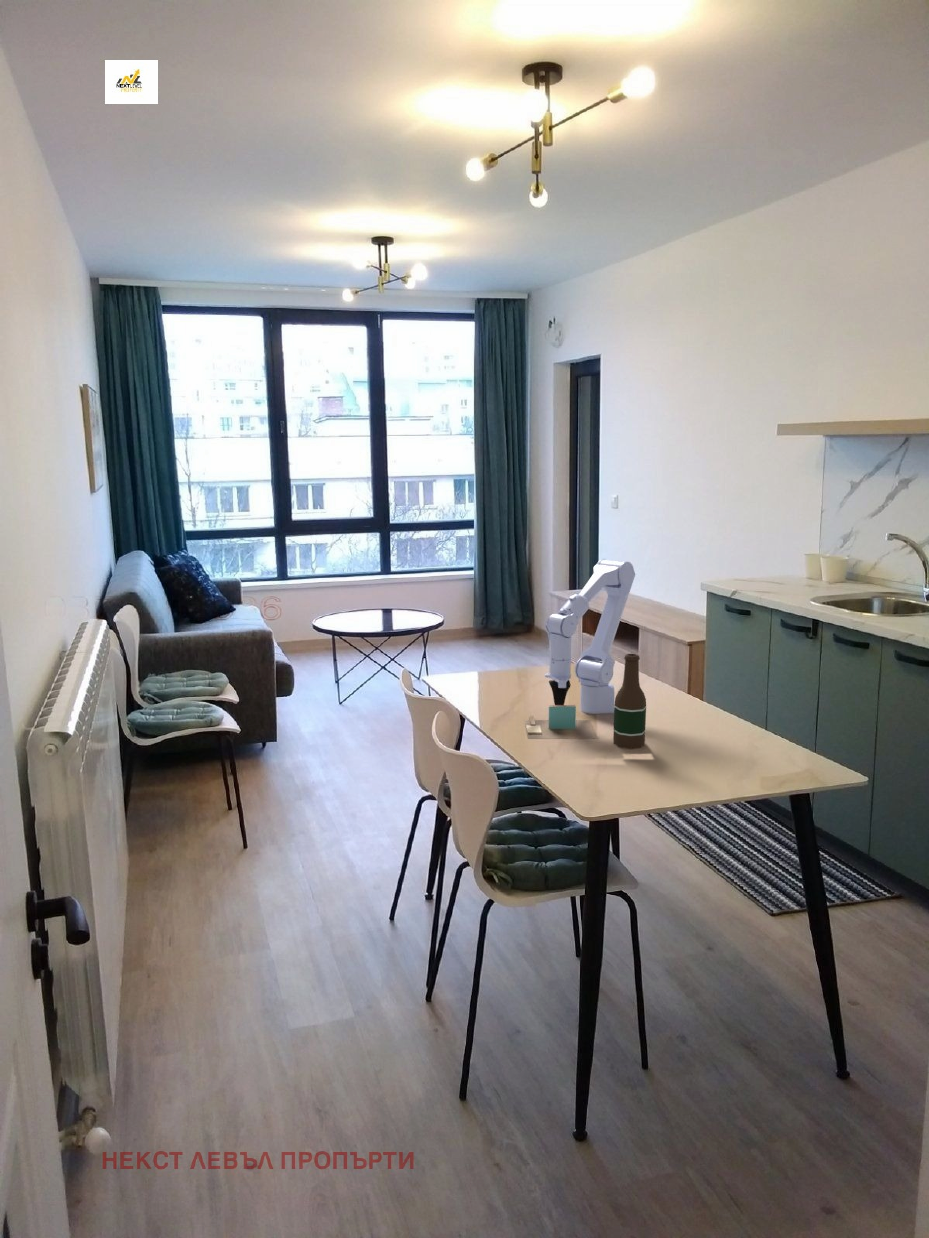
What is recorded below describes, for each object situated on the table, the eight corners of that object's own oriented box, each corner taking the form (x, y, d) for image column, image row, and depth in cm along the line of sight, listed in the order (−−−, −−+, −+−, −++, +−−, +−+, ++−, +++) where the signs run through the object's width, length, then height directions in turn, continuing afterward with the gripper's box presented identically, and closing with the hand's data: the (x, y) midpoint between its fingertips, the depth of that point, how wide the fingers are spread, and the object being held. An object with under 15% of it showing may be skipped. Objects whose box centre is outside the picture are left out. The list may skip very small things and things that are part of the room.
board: (590, 724, 243) (590, 720, 243) (598, 743, 227) (598, 738, 227) (524, 724, 243) (524, 720, 243) (527, 742, 227) (527, 738, 227)
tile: (574, 726, 237) (575, 705, 236) (575, 728, 235) (575, 706, 234) (548, 726, 237) (548, 705, 236) (548, 728, 235) (549, 706, 234)
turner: (537, 718, 244) (537, 715, 244) (541, 734, 231) (541, 731, 230) (524, 718, 244) (524, 715, 244) (527, 734, 231) (527, 731, 230)
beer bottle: (606, 747, 224) (609, 654, 219) (626, 741, 229) (629, 649, 224) (630, 755, 218) (634, 659, 213) (651, 749, 223) (654, 655, 218)
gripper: (543, 652, 247) (542, 699, 250) (547, 664, 233) (546, 714, 236) (568, 652, 247) (567, 699, 250) (574, 664, 233) (573, 714, 235)
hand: (559, 707), depth 243 cm, fingers closed
